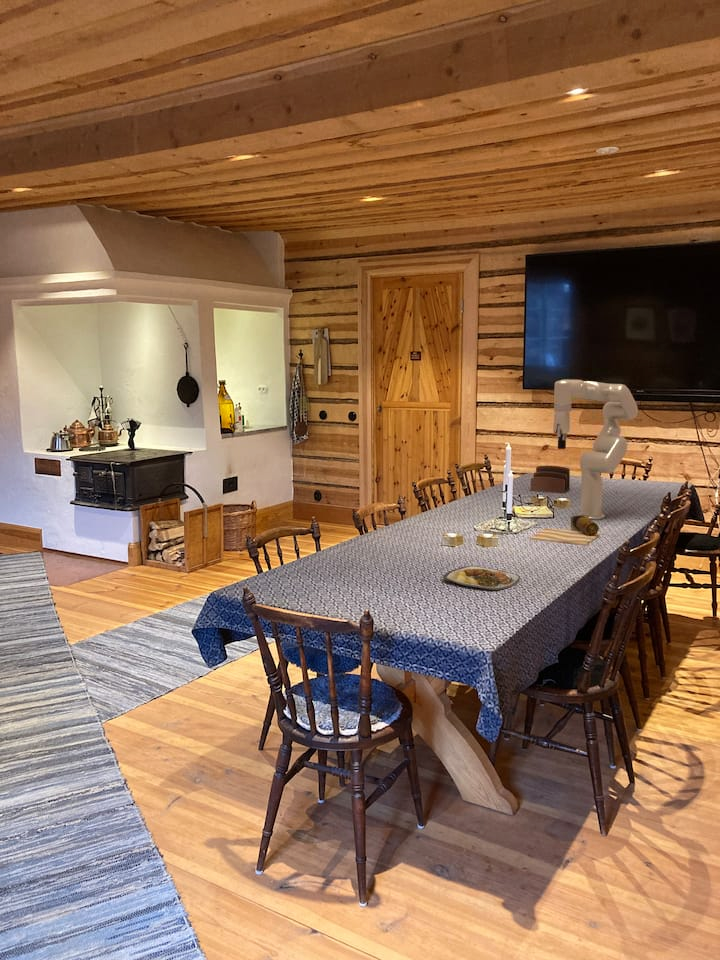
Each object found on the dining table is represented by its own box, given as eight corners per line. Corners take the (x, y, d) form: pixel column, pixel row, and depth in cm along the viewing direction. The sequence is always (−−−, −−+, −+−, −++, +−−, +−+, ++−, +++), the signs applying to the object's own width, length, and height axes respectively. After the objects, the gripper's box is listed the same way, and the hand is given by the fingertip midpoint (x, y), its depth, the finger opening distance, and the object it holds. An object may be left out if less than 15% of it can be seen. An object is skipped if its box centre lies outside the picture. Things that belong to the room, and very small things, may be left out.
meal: (498, 596, 256) (498, 589, 255) (433, 582, 271) (433, 575, 271) (531, 578, 275) (531, 571, 275) (469, 566, 290) (469, 559, 290)
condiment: (589, 530, 342) (600, 536, 330) (570, 532, 341) (581, 538, 329) (588, 514, 340) (600, 519, 329) (570, 516, 339) (581, 521, 328)
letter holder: (536, 488, 452) (536, 464, 450) (569, 491, 442) (570, 466, 439) (530, 491, 444) (530, 466, 441) (564, 493, 433) (565, 468, 431)
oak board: (545, 529, 346) (545, 528, 346) (599, 535, 333) (599, 533, 333) (529, 539, 329) (529, 537, 329) (586, 545, 317) (586, 543, 317)
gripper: (559, 407, 356) (558, 446, 359) (549, 409, 344) (548, 450, 347) (575, 407, 352) (574, 447, 355) (565, 409, 340) (564, 451, 343)
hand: (561, 448), depth 351 cm, fingers closed
